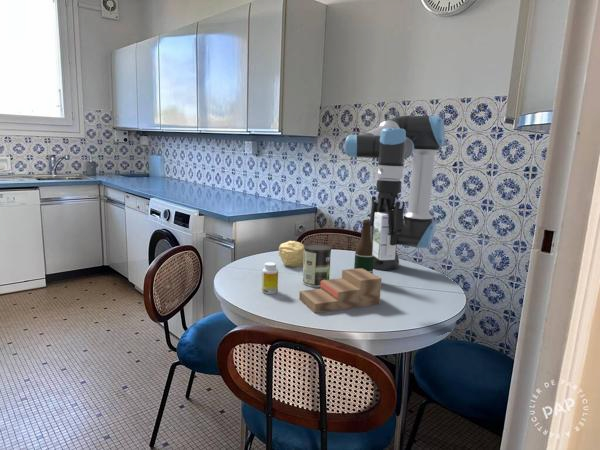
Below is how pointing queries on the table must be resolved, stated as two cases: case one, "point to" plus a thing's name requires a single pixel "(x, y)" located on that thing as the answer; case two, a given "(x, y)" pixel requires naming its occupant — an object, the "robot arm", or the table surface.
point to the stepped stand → (344, 292)
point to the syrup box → (381, 237)
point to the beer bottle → (364, 249)
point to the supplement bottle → (270, 278)
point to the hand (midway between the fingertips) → (383, 251)
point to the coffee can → (316, 264)
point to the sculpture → (292, 253)
